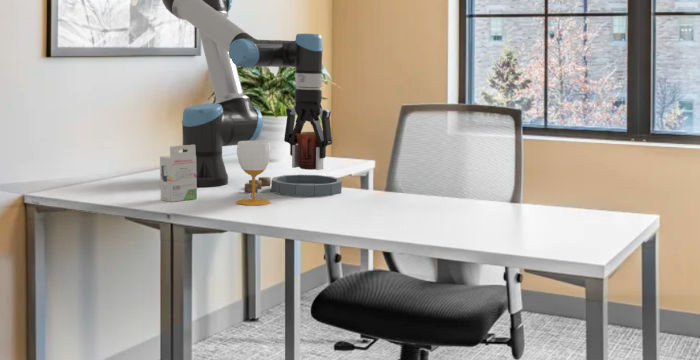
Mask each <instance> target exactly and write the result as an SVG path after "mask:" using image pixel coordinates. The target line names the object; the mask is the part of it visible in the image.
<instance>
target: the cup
mask: <svg viewBox="0 0 700 360" xmlns="http://www.w3.org/2000/svg"><path fill="white" fill-rule="evenodd" d="M236 146H237V147H236V154H237V160H238V163H239V166H240V168H241V169H242V170H243V172H245V173H246V174H247V175H249V176H250V177H251V180H252V193H251V198H244V199H237V200H236V202H235V203H236V204H237V205H241V206H255V207H257V206H258V207H259V206H266V205H269V204H271V201H270V200H269V199H262V198H256V193H255V180H256V177H257V176H259V175H260V174H262V173H264V171H266V169H267V168H268V165H269V164H270V160H271V153H272V147H271V142H269V141H265V140H255V141H240V142H238V145H236Z"/></svg>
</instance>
